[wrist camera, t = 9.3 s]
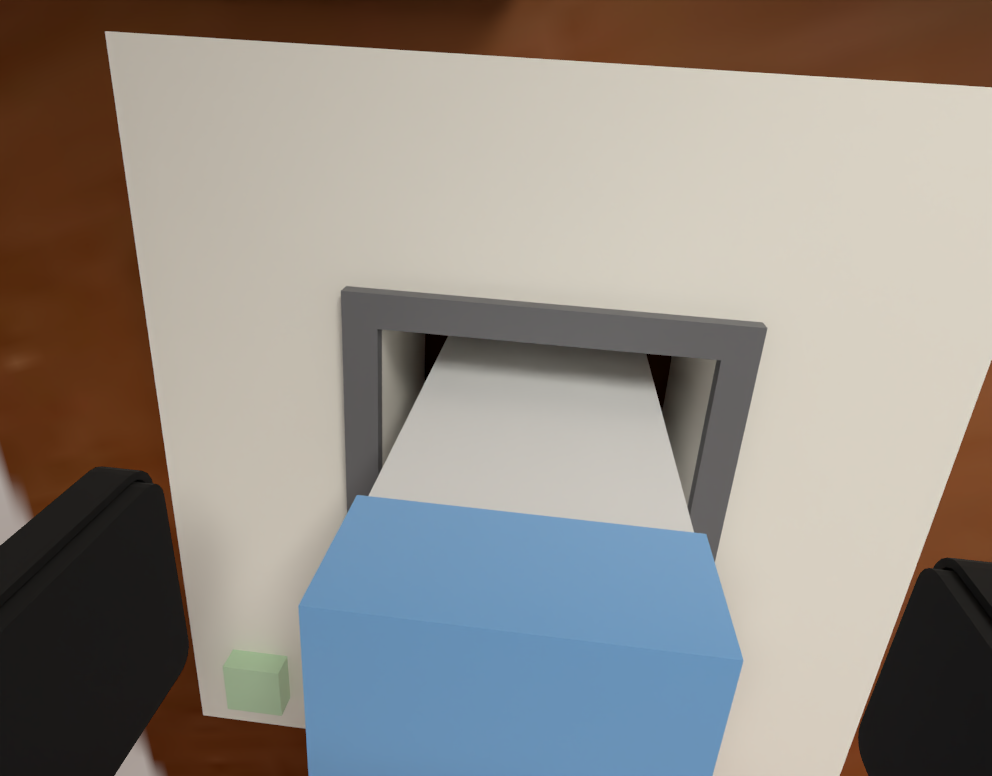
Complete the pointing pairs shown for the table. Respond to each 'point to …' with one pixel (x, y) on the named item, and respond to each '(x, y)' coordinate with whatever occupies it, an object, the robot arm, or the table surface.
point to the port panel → (562, 321)
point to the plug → (521, 585)
